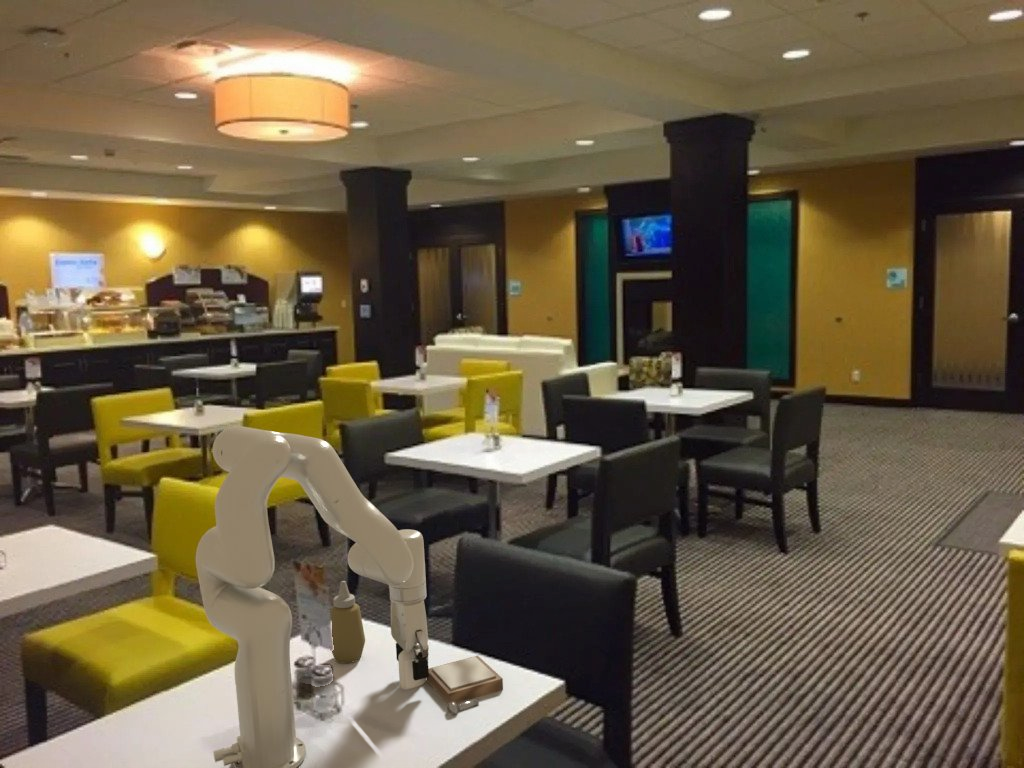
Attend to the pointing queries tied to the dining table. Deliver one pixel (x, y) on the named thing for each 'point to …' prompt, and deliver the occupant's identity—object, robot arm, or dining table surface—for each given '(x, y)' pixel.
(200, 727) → the dining table surface
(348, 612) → the squeeze bottle
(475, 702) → the loose bolt
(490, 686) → the picture frame
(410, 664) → the eye dropper bottle
